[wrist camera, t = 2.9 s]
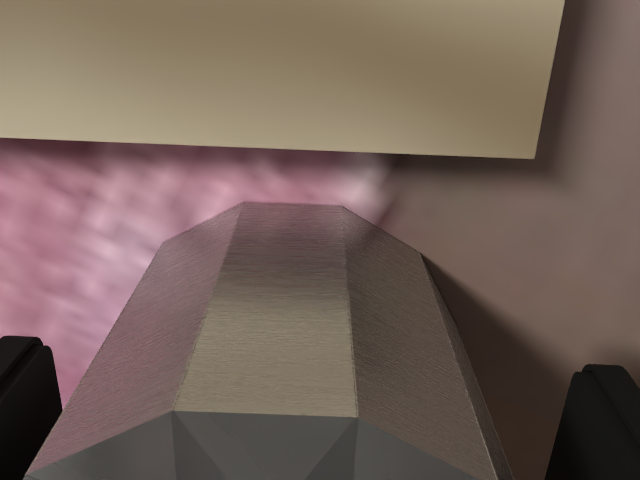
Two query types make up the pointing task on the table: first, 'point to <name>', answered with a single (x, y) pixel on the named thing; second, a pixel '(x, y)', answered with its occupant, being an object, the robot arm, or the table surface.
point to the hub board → (281, 73)
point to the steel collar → (279, 363)
